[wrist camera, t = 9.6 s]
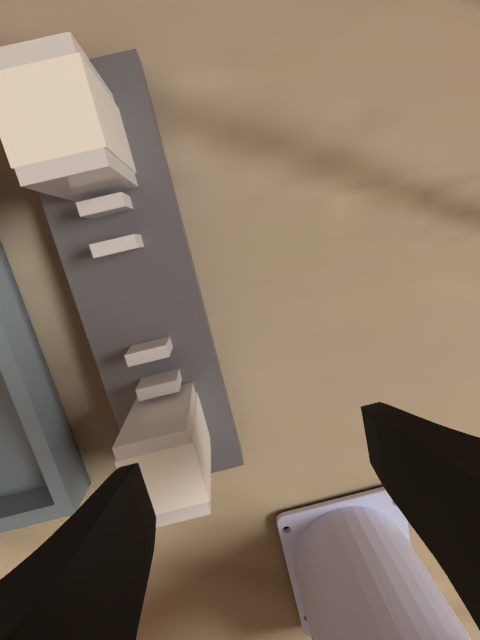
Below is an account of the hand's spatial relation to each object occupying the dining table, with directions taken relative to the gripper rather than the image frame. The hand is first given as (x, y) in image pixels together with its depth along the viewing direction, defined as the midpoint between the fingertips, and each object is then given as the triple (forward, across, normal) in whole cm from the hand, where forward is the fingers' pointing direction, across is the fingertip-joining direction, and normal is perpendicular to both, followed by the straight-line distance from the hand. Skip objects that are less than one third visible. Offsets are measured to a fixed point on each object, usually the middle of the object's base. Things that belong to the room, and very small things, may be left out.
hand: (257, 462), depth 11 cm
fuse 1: (+8, +4, -12) cm, 15 cm away
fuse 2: (+8, +4, +2) cm, 9 cm away
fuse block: (+9, +4, -5) cm, 11 cm away
